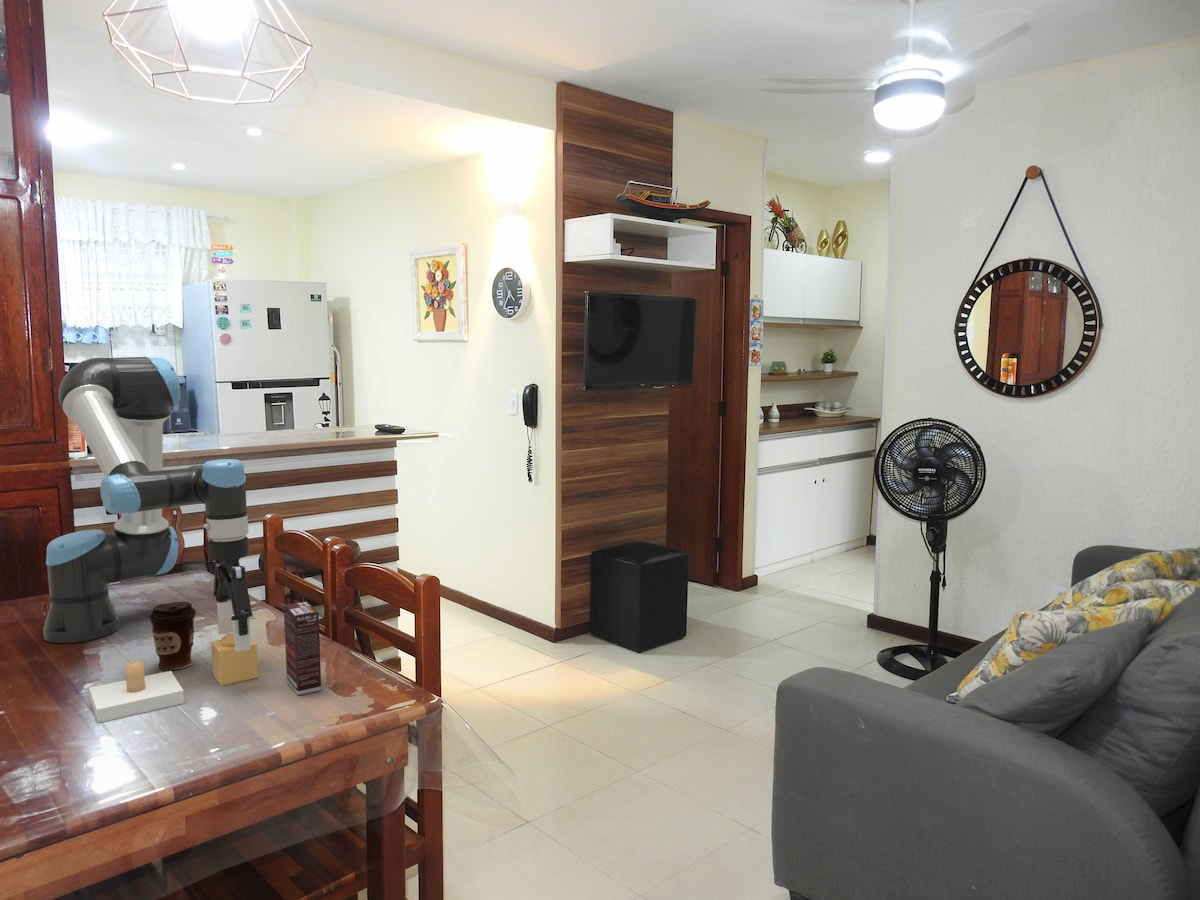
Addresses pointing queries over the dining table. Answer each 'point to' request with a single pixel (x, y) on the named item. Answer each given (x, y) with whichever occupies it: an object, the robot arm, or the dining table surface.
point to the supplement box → (302, 647)
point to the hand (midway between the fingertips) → (234, 641)
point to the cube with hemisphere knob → (233, 661)
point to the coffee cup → (173, 634)
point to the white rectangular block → (135, 693)
